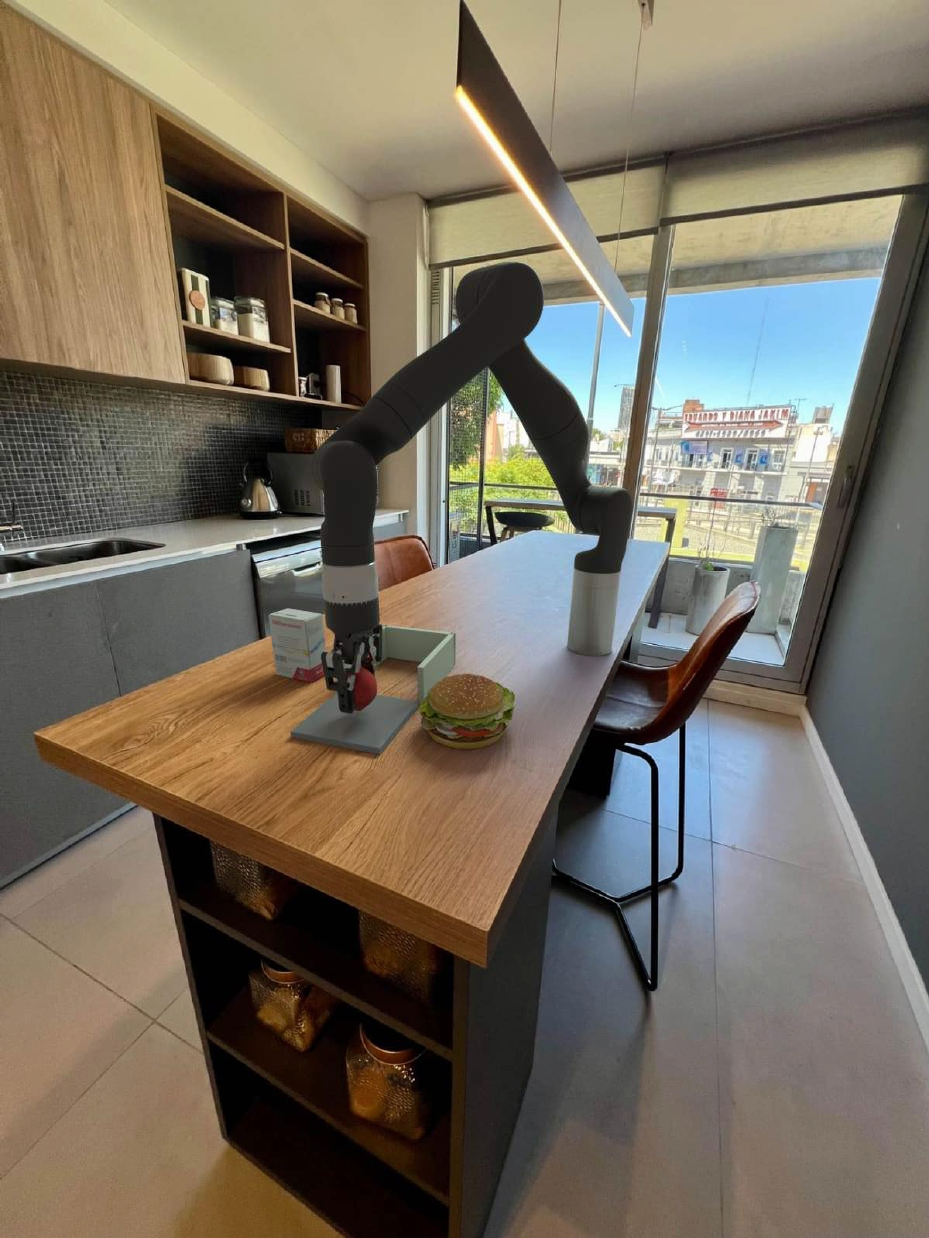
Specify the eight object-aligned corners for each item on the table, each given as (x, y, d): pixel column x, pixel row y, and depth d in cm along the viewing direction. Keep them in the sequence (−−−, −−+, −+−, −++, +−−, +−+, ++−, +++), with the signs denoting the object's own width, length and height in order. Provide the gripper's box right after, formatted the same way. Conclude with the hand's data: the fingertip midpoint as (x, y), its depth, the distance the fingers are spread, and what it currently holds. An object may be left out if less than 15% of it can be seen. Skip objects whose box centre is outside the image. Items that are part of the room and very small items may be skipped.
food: (487, 769, 63) (489, 714, 61) (402, 737, 70) (400, 687, 68) (531, 723, 74) (534, 675, 72) (454, 699, 81) (454, 655, 79)
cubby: (384, 655, 99) (383, 624, 97) (455, 664, 95) (455, 633, 93) (341, 691, 83) (339, 656, 81) (423, 704, 79) (423, 667, 77)
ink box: (329, 673, 90) (324, 612, 87) (311, 684, 86) (305, 620, 82) (293, 665, 94) (287, 606, 90) (274, 674, 90) (267, 613, 86)
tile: (341, 694, 82) (341, 689, 82) (418, 706, 79) (418, 701, 78) (290, 737, 70) (290, 731, 69) (380, 754, 66) (380, 748, 66)
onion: (369, 722, 70) (366, 672, 68) (332, 718, 72) (328, 668, 69) (383, 703, 76) (381, 656, 73) (349, 699, 77) (345, 652, 74)
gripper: (349, 611, 60) (357, 730, 66) (397, 583, 73) (400, 684, 79) (296, 605, 62) (309, 721, 68) (352, 579, 75) (359, 678, 81)
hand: (358, 701), depth 73 cm, fingers closed on onion, 6 cm apart
